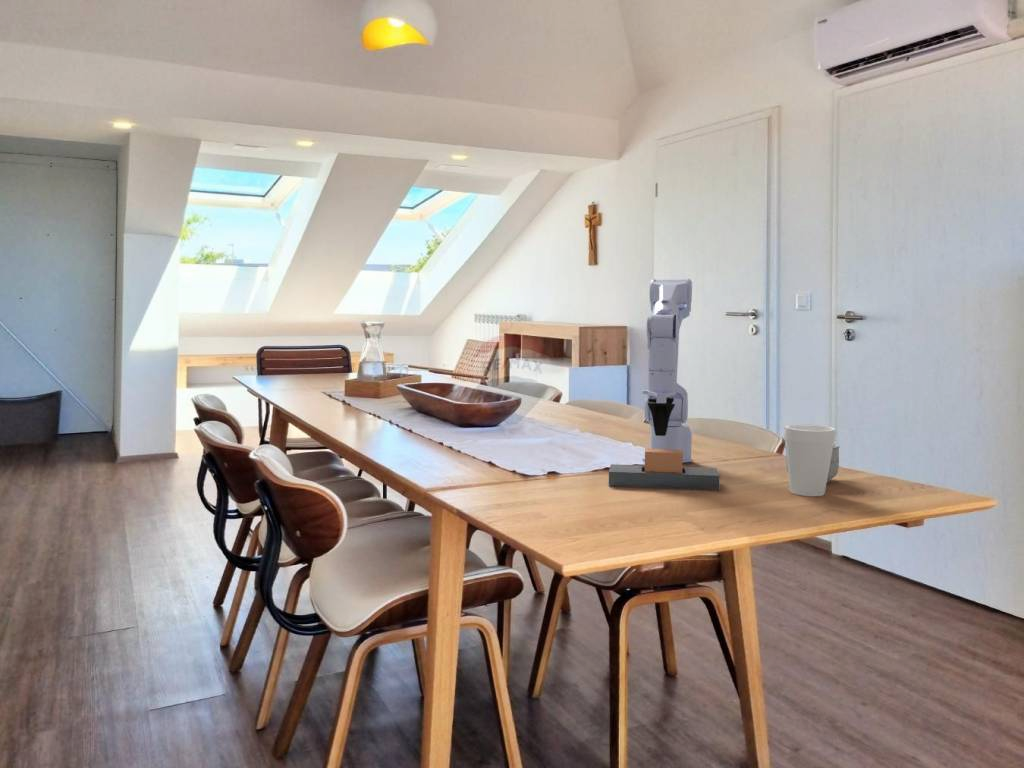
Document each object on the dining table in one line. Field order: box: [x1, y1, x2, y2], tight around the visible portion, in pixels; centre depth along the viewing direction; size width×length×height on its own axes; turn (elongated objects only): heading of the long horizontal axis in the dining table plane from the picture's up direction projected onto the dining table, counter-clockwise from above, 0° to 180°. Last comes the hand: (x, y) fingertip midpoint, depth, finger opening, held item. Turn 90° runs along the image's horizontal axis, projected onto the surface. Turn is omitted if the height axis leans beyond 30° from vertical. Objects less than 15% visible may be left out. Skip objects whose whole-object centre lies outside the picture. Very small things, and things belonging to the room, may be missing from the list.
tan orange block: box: [644, 448, 684, 473], centre depth 169 cm, size 8×4×7 cm, turn 81°
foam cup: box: [783, 423, 837, 497], centre depth 162 cm, size 10×9×13 cm
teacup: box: [784, 443, 841, 483], centre depth 174 cm, size 14×11×8 cm
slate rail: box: [608, 463, 720, 492], centre depth 169 cm, size 22×8×3 cm, turn 80°
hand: (660, 432), depth 177 cm, fingers open, 7 cm apart
